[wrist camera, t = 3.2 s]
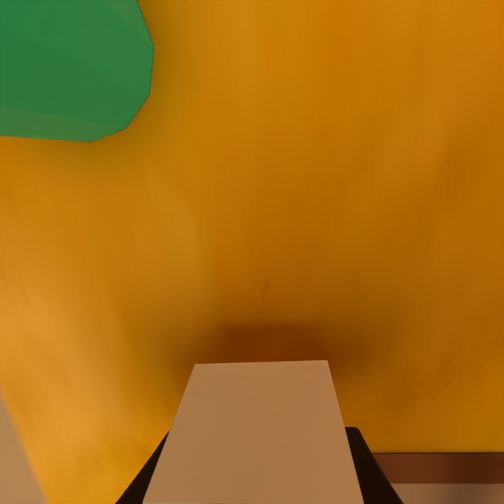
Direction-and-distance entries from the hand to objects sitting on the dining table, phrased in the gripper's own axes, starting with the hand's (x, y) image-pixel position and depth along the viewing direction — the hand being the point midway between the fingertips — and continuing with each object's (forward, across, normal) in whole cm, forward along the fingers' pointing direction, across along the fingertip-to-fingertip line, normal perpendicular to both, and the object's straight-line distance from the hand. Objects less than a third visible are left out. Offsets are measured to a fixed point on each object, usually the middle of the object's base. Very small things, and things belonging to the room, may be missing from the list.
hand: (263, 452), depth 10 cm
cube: (+2, 0, 0) cm, 2 cm away
